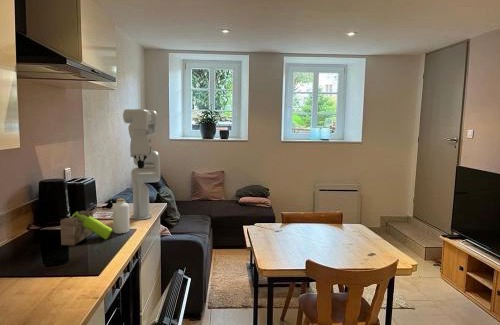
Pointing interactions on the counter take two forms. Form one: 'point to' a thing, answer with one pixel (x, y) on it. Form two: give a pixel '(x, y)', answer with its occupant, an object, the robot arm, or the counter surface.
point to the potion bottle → (120, 217)
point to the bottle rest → (74, 229)
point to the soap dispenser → (94, 225)
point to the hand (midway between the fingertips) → (141, 168)
